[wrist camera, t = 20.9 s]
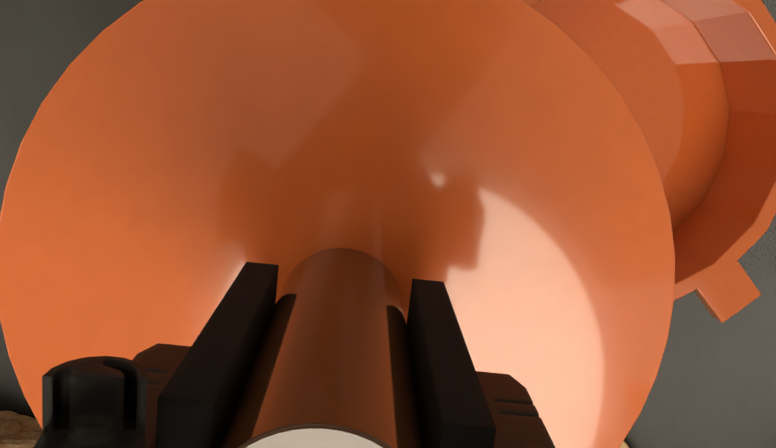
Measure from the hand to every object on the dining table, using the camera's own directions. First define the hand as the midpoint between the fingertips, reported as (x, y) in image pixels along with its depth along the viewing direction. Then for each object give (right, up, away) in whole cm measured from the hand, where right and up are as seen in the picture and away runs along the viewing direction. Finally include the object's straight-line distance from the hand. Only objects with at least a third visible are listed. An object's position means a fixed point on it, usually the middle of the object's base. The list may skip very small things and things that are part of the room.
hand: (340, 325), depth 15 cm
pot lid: (0, 0, +2) cm, 2 cm away
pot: (+12, +7, +20) cm, 24 cm away
